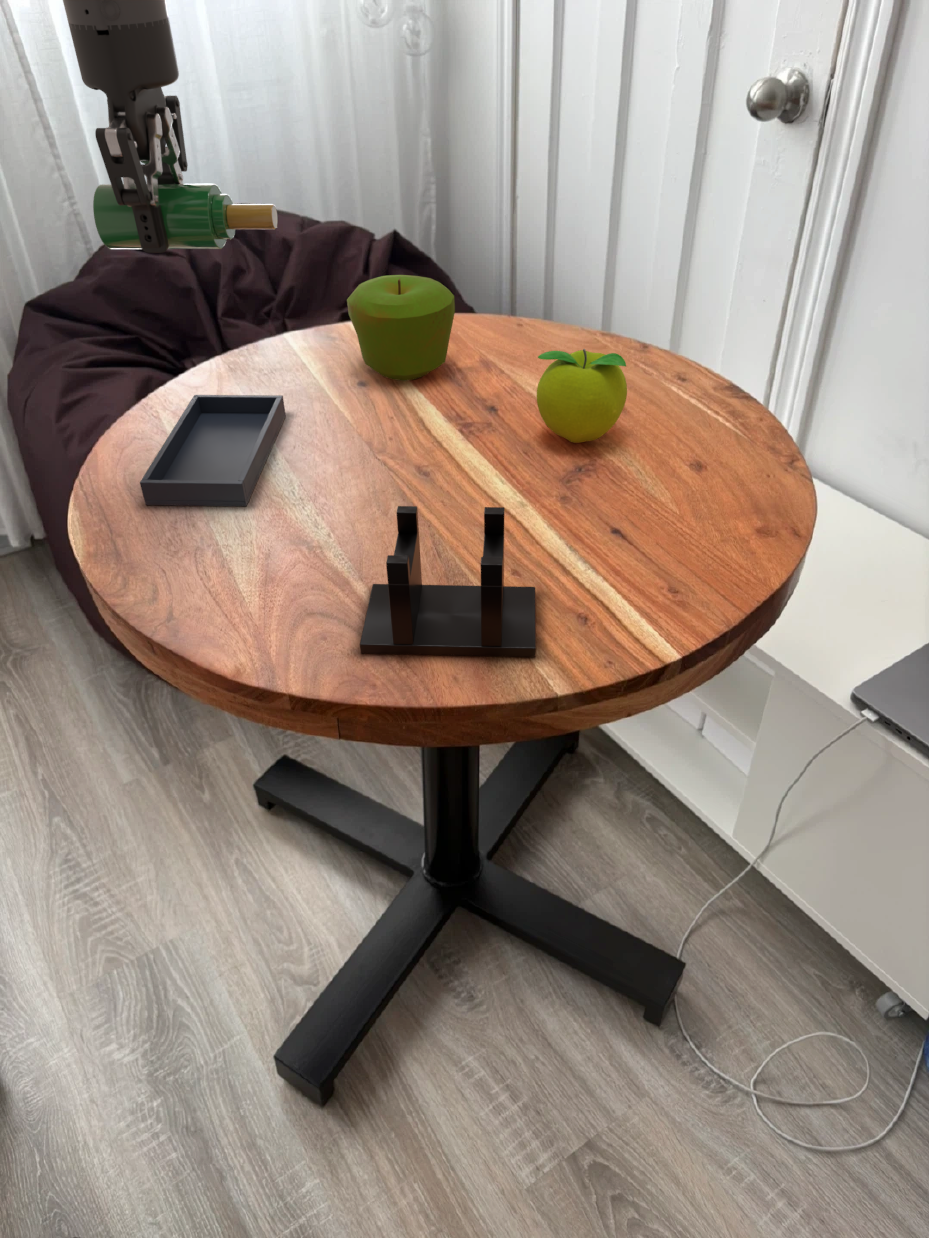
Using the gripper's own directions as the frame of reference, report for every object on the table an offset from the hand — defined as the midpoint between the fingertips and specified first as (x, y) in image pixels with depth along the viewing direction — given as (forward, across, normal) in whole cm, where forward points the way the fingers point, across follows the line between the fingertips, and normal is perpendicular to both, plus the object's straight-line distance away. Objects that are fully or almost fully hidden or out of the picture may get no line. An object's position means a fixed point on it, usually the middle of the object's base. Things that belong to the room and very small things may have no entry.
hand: (166, 240), depth 82 cm
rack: (+23, +24, +26) cm, 43 cm away
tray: (+23, -3, 0) cm, 24 cm away
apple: (+24, -25, +17) cm, 39 cm away
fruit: (+24, -8, +38) cm, 46 cm away
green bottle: (+1, 0, +3) cm, 3 cm away
